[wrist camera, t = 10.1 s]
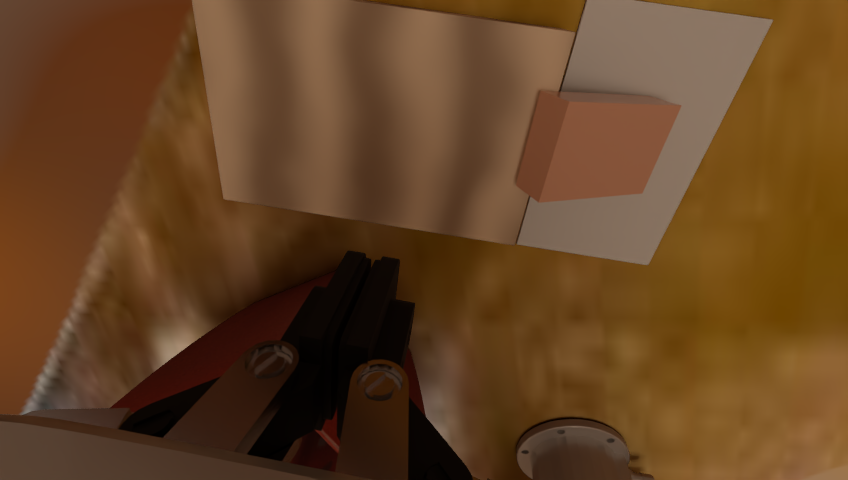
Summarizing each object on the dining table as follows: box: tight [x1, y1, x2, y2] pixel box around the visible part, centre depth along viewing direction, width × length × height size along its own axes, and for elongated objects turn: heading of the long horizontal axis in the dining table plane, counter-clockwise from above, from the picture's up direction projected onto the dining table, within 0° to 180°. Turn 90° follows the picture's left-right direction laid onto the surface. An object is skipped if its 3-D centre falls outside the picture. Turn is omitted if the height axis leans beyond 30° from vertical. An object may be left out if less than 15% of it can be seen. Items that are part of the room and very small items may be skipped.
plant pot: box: [111, 271, 426, 472], centre depth 34 cm, size 19×19×17 cm
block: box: [516, 91, 682, 203], centre depth 25 cm, size 9×6×2 cm, turn 83°
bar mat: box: [516, 0, 773, 265], centre depth 28 cm, size 11×18×1 cm, turn 173°
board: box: [192, 0, 575, 245], centre depth 27 cm, size 22×14×4 cm, turn 83°
